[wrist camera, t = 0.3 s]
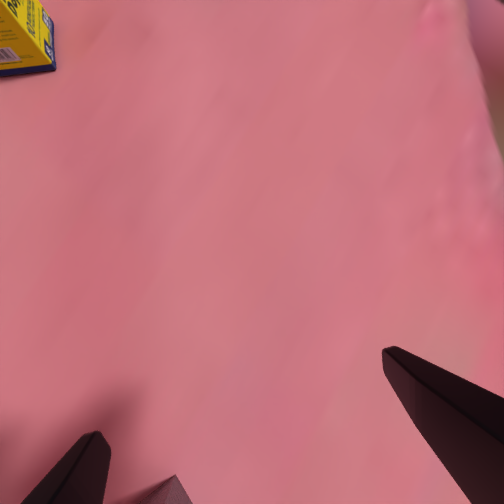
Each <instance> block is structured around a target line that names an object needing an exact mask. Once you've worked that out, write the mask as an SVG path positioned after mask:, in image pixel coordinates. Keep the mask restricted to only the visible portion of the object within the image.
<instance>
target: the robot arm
mask: <svg viewBox="0 0 504 504" xmlns="http://www.w3.org/2000/svg"><path fill="white" fill-rule="evenodd" d="M382 362H383V371H384V373H385V376H386V377H387V379H388V381H389V383H390V384H391V386H392V388H393V389H394V391H395V393H396V394H397V396H398V398H399V399H400V401H401V403H402V404H403V406H404V408H405V409H406V411H407V413H408V414H409V416H410V418H411V419H412V421H413V423H414V424H415V426H416V427H417V429H418V430H419V432H420V433H421V435H422V436H423V437H424V439H425V440H426V441H427V443H428V444H429V446H430V447H431V448H432V450H433V451H434V452H435V454H436V455H437V457H438V458H439V459H440V461H441V462H442V463H443V465H444V466H445V468H446V469H447V470H448V472H449V473H450V475H451V476H452V477H453V479H454V480H455V481H456V483H457V484H458V486H459V487H460V488H461V490H462V491H463V492H464V494H465V495H466V497H467V498H468V499H469V501H470V502H471V504H504V398H503V397H501V396H498V395H496V394H494V393H492V392H490V391H488V390H486V389H484V388H482V387H480V386H478V385H476V384H474V383H472V382H470V381H468V380H465V379H463V378H461V377H459V376H457V375H455V374H453V373H451V372H449V371H447V370H445V369H443V368H441V367H439V366H437V365H434V364H432V363H430V362H428V361H426V360H424V359H422V358H420V357H418V356H416V355H414V354H412V353H410V352H408V351H406V350H403V349H401V348H399V347H397V346H391V347H388V348H384V349H383V350H382ZM110 459H111V448H110V446H109V444H108V443H107V441H106V440H105V438H104V437H103V435H102V433H101V432H100V431H93V432H90V433H86V434H84V435H83V436H82V437H81V438H80V439H79V440H78V441H77V442H76V443H75V444H74V445H73V446H72V447H71V449H70V450H69V451H68V452H67V453H66V454H65V455H64V456H63V457H62V458H61V460H60V461H59V462H58V463H57V464H56V465H55V466H54V467H53V468H52V469H51V471H50V472H49V473H48V474H47V475H46V476H45V477H44V478H43V479H42V480H41V482H40V483H39V484H38V485H37V486H36V487H35V488H34V489H33V490H32V492H31V493H30V494H29V495H28V496H27V497H26V498H25V499H24V500H23V501H22V503H21V504H103V499H104V493H105V488H106V482H107V476H108V471H109V465H110Z"/></svg>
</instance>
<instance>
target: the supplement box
mask: <svg viewBox="0 0 504 504" xmlns="http://www.w3.org/2000/svg"><path fill="white" fill-rule="evenodd" d="M50 70H56V62H55V52H54V24H53V21H52V20H51V18H50V17H49V15H48V14H47V12H46V11H45V9H44V8H43V6H42V5H41V3H40V2H39V0H0V76H9V75H17V74H25V73H34V72H42V71H50Z"/></svg>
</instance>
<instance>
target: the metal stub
mask: <svg viewBox="0 0 504 504" xmlns="http://www.w3.org/2000/svg"><path fill="white" fill-rule="evenodd" d="M138 504H193V503H192V502H191V500H190V498H189V497H188V495H187V493H186V491H185V490H184V488H183V486H182V484H181V483H180V481H179V479H178V478H177V476H176V475H174V476H173V477H172V478H171V479H169V480H168V481H167V482H165V483H164V484H163V485H162V486H160V487H159V488H158V489H156V490H155V491H154V492H153V493H151V494H150V495H149V496H147V497H146V498H145V499H144V500H142V501H141V502H140V503H138Z"/></svg>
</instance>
